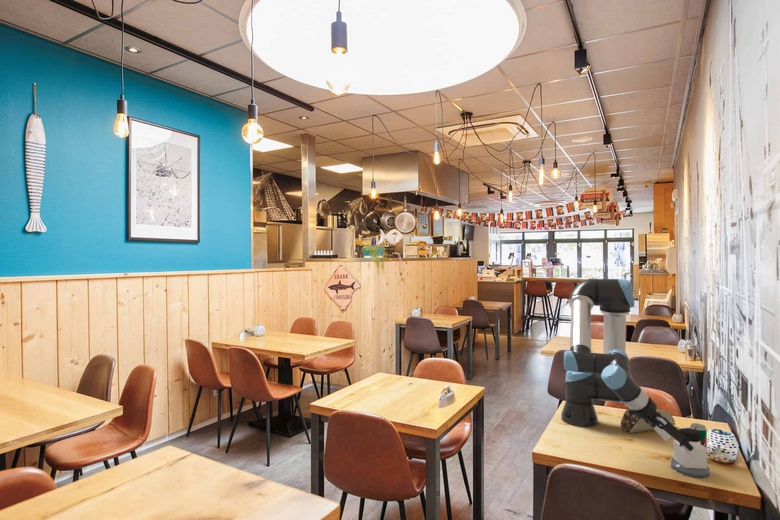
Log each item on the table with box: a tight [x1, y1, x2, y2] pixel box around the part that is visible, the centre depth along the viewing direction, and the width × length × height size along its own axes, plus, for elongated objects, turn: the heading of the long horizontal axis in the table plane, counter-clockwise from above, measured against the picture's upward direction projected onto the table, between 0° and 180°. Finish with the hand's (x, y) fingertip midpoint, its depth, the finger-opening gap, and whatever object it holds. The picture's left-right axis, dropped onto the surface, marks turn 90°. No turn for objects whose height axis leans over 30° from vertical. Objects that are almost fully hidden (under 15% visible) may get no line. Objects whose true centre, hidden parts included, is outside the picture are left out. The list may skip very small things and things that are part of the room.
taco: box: [620, 407, 676, 435], centre depth 187 cm, size 10×27×10 cm, turn 109°
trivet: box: [670, 457, 711, 479], centre depth 150 cm, size 11×11×2 cm
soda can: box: [689, 422, 708, 449], centre depth 160 cm, size 5×5×12 cm
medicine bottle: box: [673, 426, 708, 469], centre depth 150 cm, size 7×7×12 cm
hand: (681, 446), depth 150 cm, fingers open, 13 cm apart
